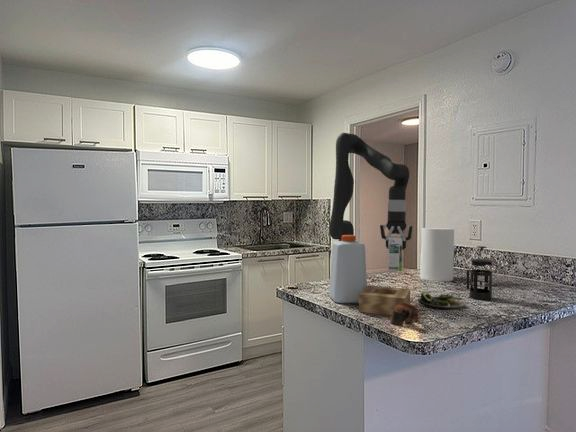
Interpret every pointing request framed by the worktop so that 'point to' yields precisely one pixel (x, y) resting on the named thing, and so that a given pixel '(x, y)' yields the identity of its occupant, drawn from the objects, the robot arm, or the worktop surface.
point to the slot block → (382, 299)
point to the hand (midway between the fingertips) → (395, 249)
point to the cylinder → (437, 254)
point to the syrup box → (395, 254)
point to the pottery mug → (409, 314)
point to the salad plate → (440, 301)
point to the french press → (474, 291)
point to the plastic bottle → (347, 270)
